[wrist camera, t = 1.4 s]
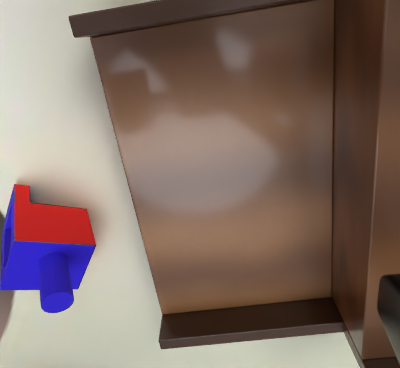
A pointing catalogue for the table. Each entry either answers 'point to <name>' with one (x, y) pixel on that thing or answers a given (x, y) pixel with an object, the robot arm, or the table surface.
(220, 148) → the shelf
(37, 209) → the toy building block
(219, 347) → the table surface
